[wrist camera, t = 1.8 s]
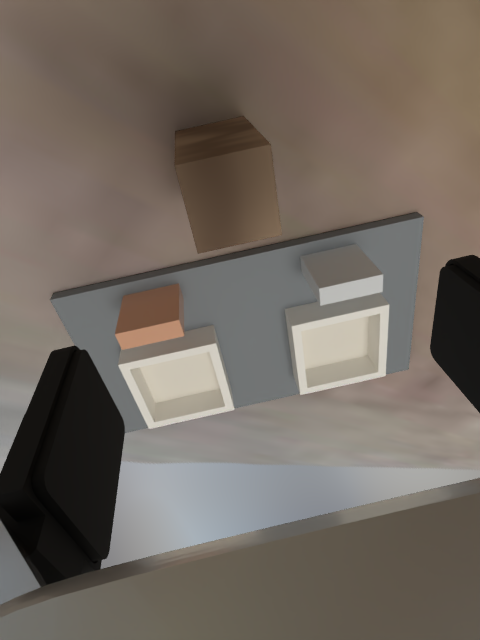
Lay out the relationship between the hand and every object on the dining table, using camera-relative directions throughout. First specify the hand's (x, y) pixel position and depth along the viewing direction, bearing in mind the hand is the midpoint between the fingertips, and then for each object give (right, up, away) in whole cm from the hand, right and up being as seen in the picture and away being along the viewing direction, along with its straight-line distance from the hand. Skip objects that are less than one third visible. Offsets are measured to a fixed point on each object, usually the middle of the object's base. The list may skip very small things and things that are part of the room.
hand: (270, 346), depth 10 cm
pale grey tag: (+6, +6, +20) cm, 22 cm away
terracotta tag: (-8, +3, +20) cm, 22 cm away
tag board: (0, 0, +25) cm, 25 cm away
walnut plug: (-2, +12, +16) cm, 20 cm away
